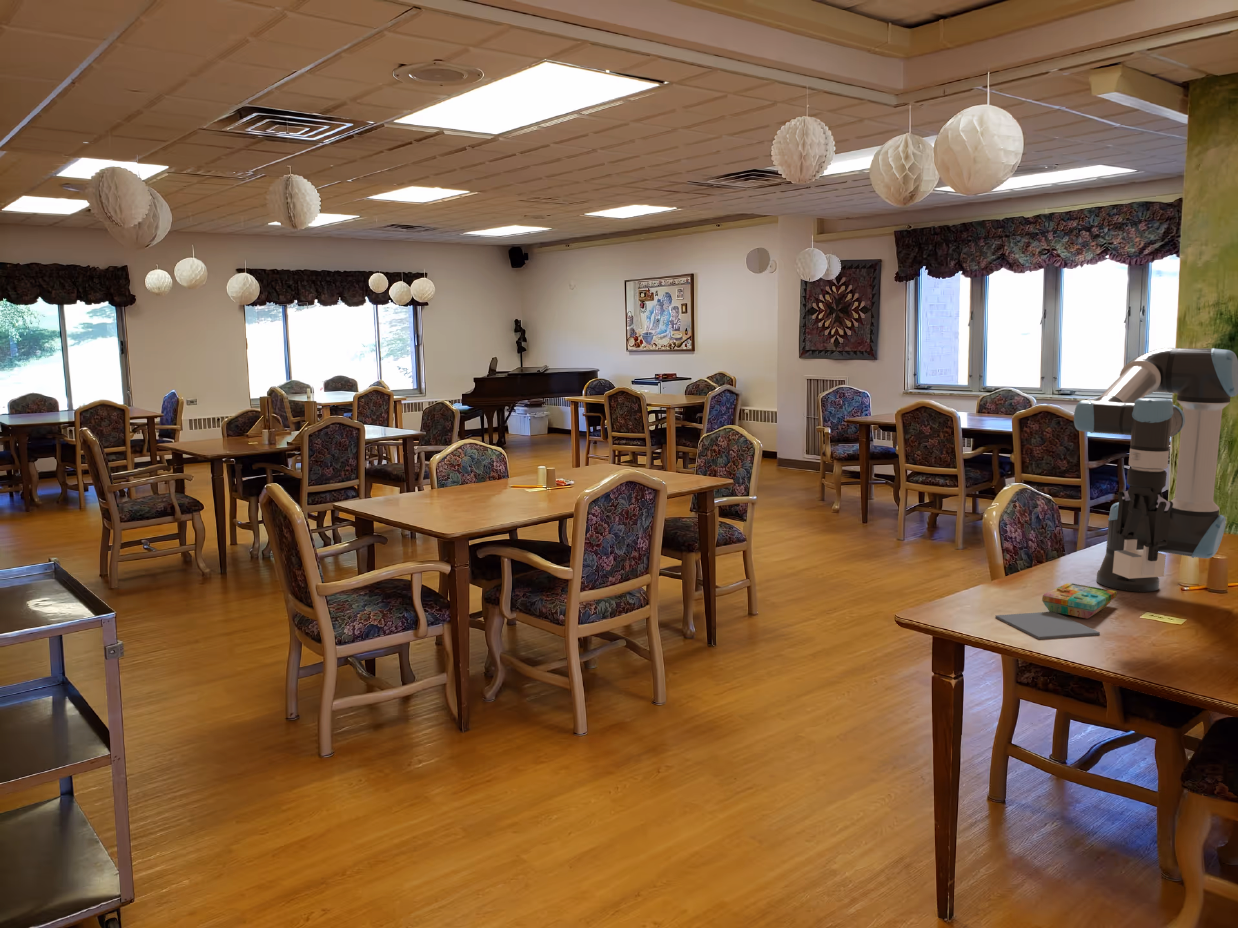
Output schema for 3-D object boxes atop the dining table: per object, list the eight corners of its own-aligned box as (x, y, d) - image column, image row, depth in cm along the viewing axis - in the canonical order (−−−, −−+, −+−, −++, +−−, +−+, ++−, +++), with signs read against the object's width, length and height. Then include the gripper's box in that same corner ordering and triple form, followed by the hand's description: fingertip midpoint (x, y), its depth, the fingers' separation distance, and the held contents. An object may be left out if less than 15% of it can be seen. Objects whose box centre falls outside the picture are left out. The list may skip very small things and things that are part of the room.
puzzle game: (1043, 591, 230) (1068, 579, 245) (1041, 610, 230) (1066, 596, 245) (1094, 601, 222) (1117, 588, 237) (1092, 620, 223) (1115, 606, 238)
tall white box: (1146, 570, 213) (1148, 548, 212) (1163, 576, 208) (1166, 554, 208) (1112, 572, 211) (1114, 550, 211) (1128, 578, 206) (1131, 556, 206)
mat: (1052, 613, 230) (1053, 611, 230) (1099, 634, 215) (1099, 632, 215) (995, 617, 227) (995, 615, 227) (1038, 639, 211) (1038, 636, 211)
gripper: (1103, 462, 214) (1094, 561, 218) (1165, 475, 197) (1154, 582, 200) (1131, 461, 216) (1122, 560, 219) (1195, 474, 198) (1184, 580, 202)
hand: (1137, 570), depth 210 cm, fingers closed on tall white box, 5 cm apart
